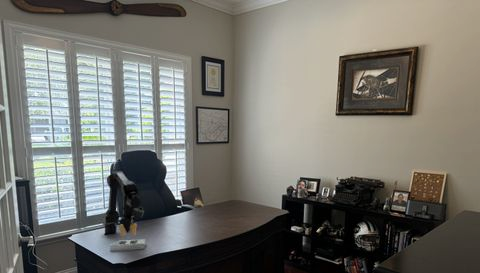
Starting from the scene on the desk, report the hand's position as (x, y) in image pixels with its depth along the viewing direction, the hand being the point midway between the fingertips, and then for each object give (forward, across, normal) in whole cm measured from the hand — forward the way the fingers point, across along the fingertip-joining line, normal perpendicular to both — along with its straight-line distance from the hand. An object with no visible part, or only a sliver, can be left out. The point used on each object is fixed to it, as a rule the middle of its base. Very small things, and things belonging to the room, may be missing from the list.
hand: (128, 231), depth 161 cm
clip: (+2, 0, 0) cm, 2 cm away
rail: (+9, 0, 0) cm, 9 cm away
